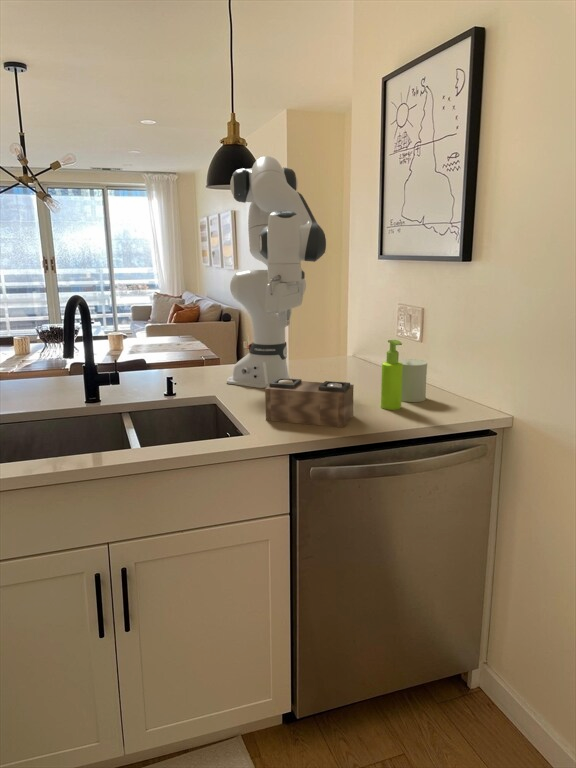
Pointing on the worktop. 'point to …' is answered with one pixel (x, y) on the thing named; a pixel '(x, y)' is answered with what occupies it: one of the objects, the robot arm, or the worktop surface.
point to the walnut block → (309, 402)
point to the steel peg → (334, 385)
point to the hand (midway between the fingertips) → (284, 326)
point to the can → (413, 380)
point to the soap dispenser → (391, 379)
